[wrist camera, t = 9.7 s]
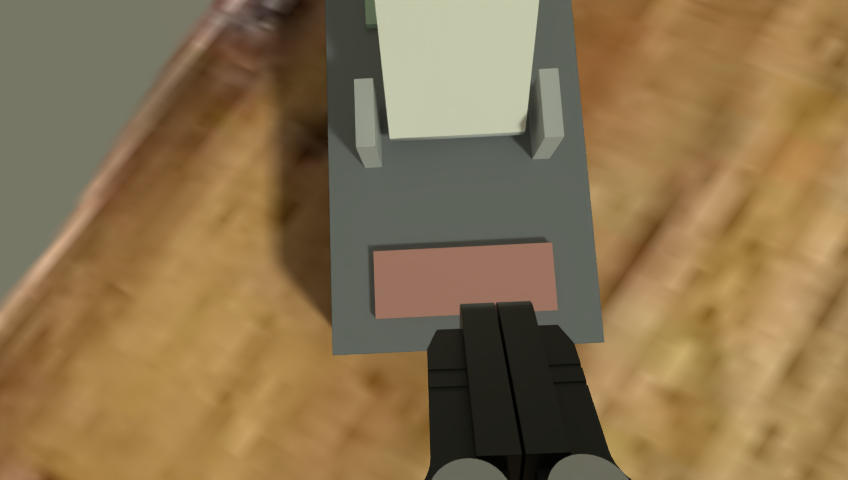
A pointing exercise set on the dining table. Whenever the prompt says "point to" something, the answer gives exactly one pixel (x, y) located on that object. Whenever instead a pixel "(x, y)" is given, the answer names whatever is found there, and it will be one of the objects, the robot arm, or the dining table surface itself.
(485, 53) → the lever
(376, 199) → the switch box
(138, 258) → the dining table surface
